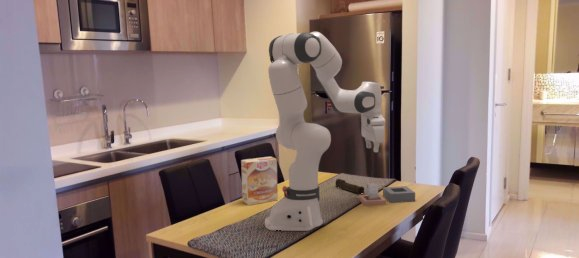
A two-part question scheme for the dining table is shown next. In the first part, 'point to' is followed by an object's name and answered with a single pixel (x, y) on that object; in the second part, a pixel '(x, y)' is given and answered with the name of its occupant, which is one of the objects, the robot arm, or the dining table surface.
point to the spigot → (372, 191)
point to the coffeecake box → (259, 180)
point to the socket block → (398, 194)
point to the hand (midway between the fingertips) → (372, 150)
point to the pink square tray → (372, 202)
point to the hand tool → (349, 186)
